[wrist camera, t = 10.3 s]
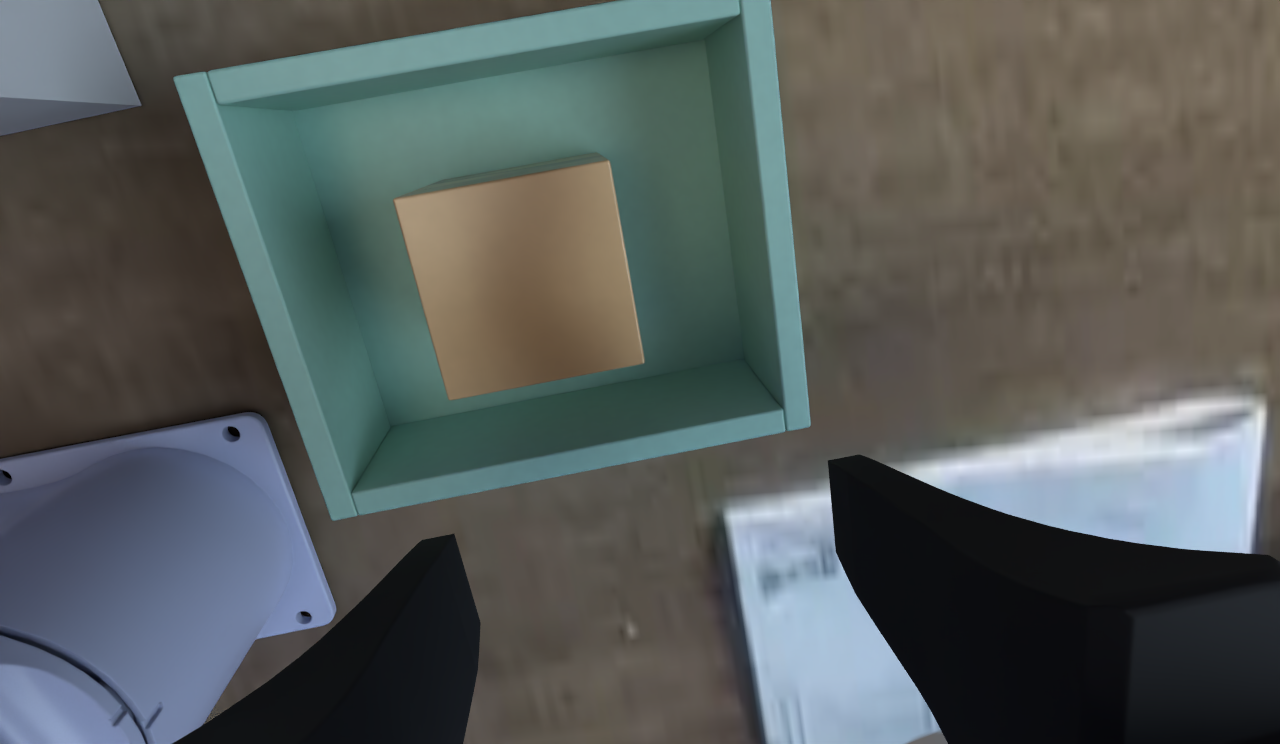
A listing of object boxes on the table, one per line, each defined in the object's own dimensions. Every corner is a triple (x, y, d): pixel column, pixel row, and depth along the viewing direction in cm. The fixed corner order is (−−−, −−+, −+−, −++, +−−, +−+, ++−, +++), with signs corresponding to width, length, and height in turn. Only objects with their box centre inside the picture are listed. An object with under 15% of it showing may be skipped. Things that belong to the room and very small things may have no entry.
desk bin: (379, 442, 23) (331, 522, 19) (265, 89, 20) (170, 76, 15) (763, 369, 24) (812, 427, 19) (721, 10, 20) (769, -27, 15)
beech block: (479, 332, 22) (448, 401, 16) (440, 180, 20) (391, 198, 15) (625, 304, 22) (645, 364, 16) (598, 152, 21) (610, 159, 15)
